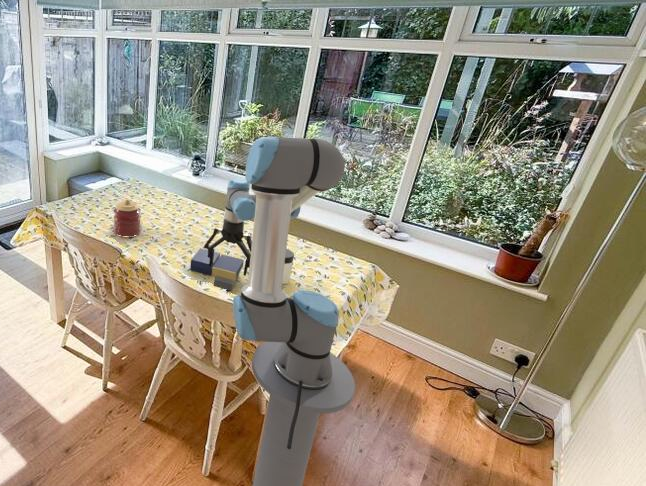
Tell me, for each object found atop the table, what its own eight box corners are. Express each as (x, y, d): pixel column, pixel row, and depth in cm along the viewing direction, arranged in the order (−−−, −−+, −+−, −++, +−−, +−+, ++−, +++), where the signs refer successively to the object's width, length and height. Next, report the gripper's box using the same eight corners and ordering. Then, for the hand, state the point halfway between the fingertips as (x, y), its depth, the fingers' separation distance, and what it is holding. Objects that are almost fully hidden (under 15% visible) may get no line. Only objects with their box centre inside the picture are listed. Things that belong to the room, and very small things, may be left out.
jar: (263, 278, 164) (267, 251, 160) (273, 270, 170) (278, 245, 165) (283, 287, 158) (288, 260, 154) (294, 279, 164) (299, 253, 159)
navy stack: (211, 275, 165) (212, 264, 163) (190, 270, 168) (191, 259, 167) (219, 263, 175) (220, 252, 173) (199, 258, 179) (200, 247, 177)
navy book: (235, 280, 152) (236, 273, 151) (211, 274, 156) (212, 267, 155) (243, 266, 163) (243, 259, 162) (220, 260, 166) (221, 254, 165)
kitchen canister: (110, 229, 204) (109, 196, 197) (134, 225, 208) (134, 192, 202) (119, 240, 193) (119, 206, 186) (144, 236, 197) (145, 202, 191)
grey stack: (231, 290, 155) (232, 279, 153) (213, 286, 158) (214, 274, 156) (239, 276, 165) (240, 265, 163) (222, 272, 168) (223, 261, 166)
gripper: (270, 223, 150) (262, 273, 158) (205, 209, 160) (200, 257, 168) (266, 230, 144) (258, 282, 152) (198, 216, 154) (194, 265, 162)
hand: (227, 269), depth 160 cm, fingers open, 13 cm apart
